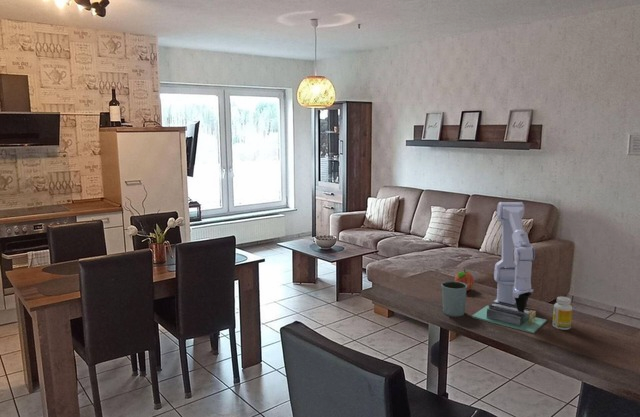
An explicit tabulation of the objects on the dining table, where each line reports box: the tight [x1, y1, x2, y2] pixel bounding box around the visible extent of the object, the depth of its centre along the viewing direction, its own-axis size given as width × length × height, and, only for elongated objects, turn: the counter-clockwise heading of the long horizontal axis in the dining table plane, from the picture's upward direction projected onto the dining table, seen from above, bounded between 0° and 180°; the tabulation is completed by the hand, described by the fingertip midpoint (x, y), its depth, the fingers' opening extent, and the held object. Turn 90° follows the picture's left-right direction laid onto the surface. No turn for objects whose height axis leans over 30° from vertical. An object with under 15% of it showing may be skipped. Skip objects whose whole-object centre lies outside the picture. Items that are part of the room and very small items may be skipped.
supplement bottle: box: [551, 295, 573, 331], centre depth 183 cm, size 6×6×11 cm
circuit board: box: [471, 305, 547, 334], centre depth 192 cm, size 15×24×1 cm, turn 48°
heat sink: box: [487, 301, 537, 327], centre depth 191 cm, size 12×17×5 cm
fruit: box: [454, 269, 475, 291], centre depth 226 cm, size 9×10×10 cm
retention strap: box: [491, 303, 529, 315], centre depth 191 cm, size 14×2×1 cm, turn 48°
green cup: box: [440, 280, 467, 317], centre depth 199 cm, size 10×10×12 cm
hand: (520, 310), depth 188 cm, fingers closed
